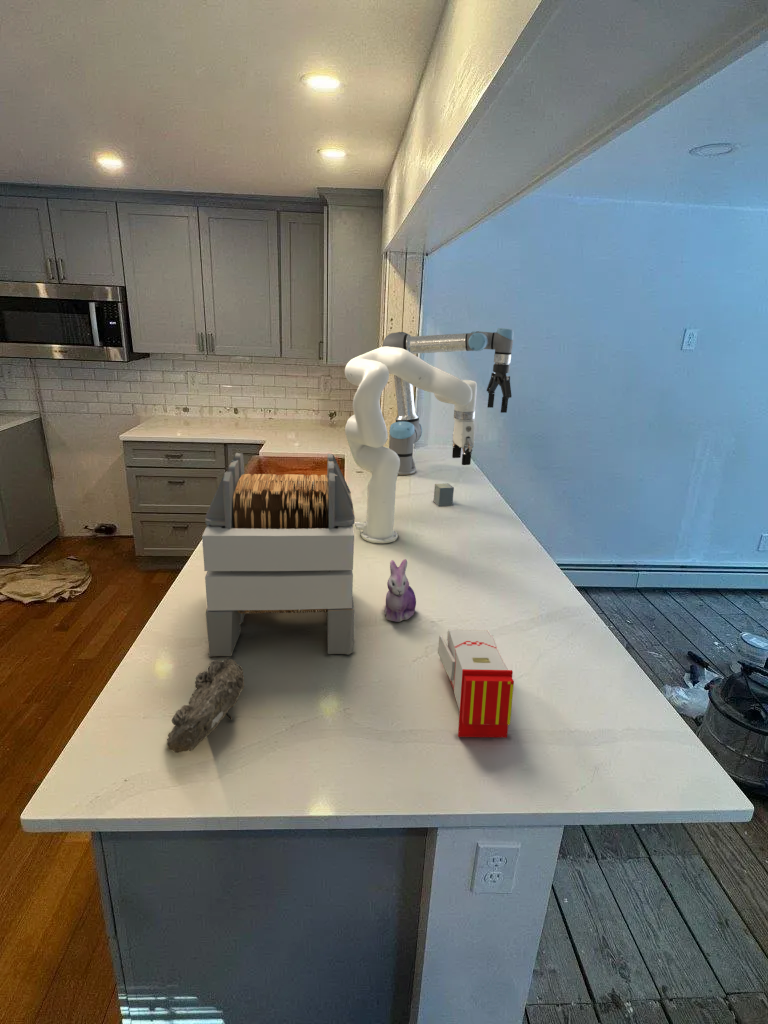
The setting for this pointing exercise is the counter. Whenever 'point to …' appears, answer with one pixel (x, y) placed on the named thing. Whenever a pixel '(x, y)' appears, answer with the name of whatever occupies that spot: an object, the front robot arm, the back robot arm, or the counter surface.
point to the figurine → (399, 594)
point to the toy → (478, 682)
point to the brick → (443, 494)
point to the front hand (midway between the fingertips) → (461, 461)
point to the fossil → (206, 705)
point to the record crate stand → (279, 552)
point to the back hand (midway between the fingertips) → (496, 410)
